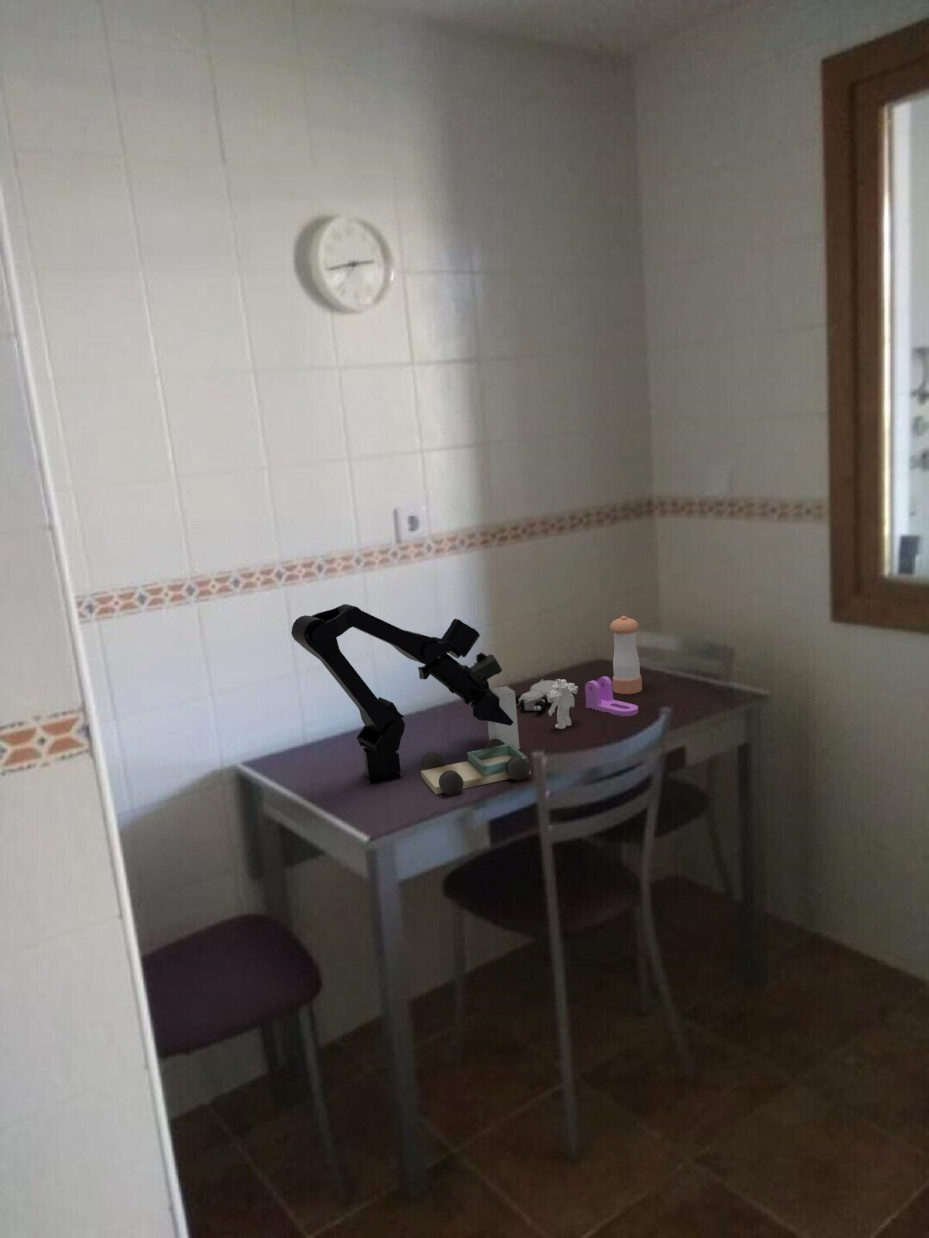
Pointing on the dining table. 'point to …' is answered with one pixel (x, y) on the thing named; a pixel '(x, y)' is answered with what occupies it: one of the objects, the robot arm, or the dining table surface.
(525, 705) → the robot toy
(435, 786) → the toy car chassis
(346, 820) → the dining table surface
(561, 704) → the flower shoulder figurine
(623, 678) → the pepper shaker
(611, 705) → the bracket
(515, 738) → the tall gray rectangular block
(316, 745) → the dining table surface
